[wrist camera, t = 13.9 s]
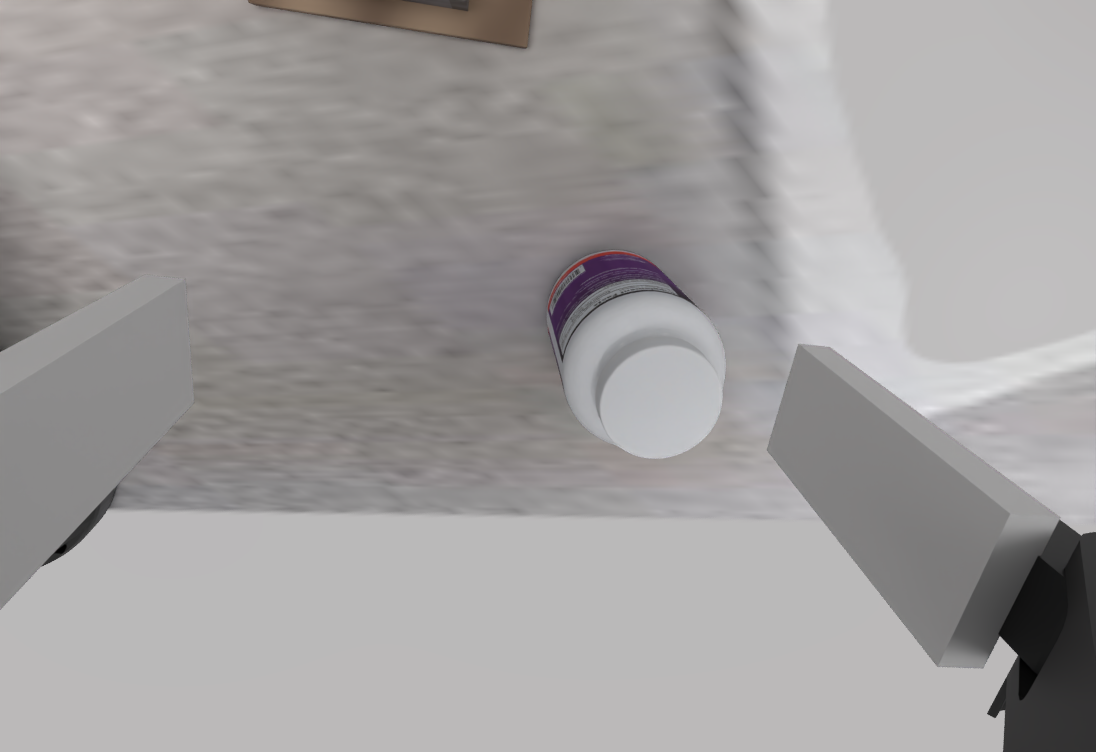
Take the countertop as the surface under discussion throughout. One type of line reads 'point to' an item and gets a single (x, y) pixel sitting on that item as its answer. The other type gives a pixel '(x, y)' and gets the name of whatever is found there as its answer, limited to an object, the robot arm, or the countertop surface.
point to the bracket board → (428, 16)
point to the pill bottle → (635, 355)
